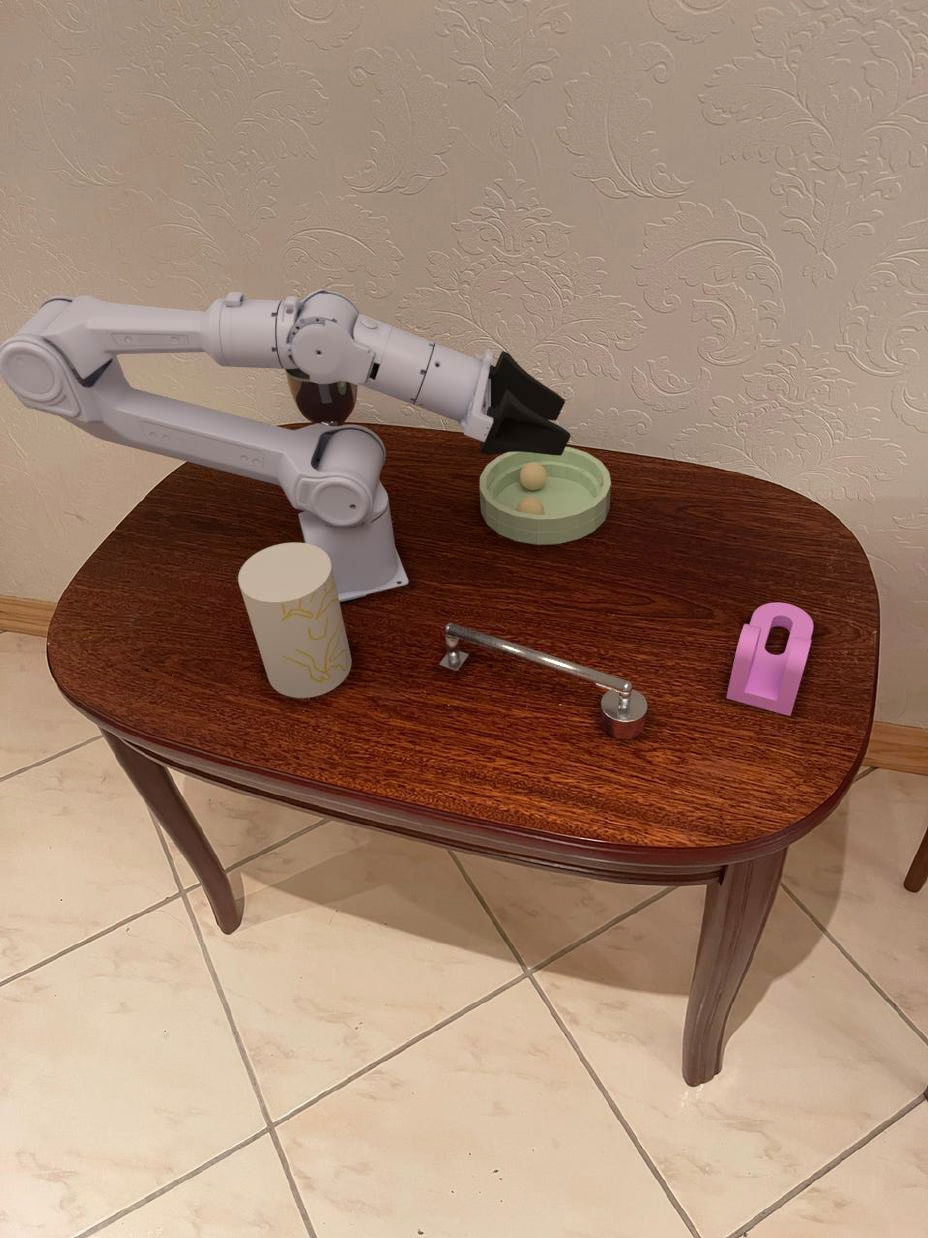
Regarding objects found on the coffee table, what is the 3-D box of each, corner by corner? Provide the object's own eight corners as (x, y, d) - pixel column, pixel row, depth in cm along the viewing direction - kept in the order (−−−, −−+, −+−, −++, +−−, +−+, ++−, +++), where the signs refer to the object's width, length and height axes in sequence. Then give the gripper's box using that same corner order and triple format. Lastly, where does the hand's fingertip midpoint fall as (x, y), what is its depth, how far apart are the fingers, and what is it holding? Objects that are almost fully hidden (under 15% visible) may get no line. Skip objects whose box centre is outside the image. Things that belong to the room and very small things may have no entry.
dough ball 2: (521, 535, 98) (520, 511, 96) (512, 518, 100) (511, 495, 98) (548, 528, 98) (548, 505, 96) (538, 512, 101) (538, 489, 99)
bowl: (504, 560, 96) (503, 531, 93) (466, 488, 106) (464, 459, 103) (629, 530, 98) (632, 501, 95) (580, 463, 109) (581, 434, 106)
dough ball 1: (525, 498, 103) (524, 474, 101) (516, 483, 105) (515, 460, 103) (551, 492, 104) (551, 468, 101) (541, 477, 106) (541, 454, 104)
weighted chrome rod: (652, 713, 79) (656, 674, 75) (635, 745, 76) (640, 706, 73) (455, 646, 86) (451, 608, 83) (434, 673, 84) (430, 635, 80)
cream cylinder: (310, 710, 81) (283, 614, 73) (250, 675, 85) (218, 580, 77) (368, 658, 86) (350, 562, 78) (309, 626, 90) (285, 531, 82)
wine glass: (303, 464, 112) (279, 354, 102) (364, 451, 114) (346, 340, 103) (314, 498, 106) (290, 384, 96) (379, 484, 108) (361, 370, 98)
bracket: (790, 716, 77) (806, 660, 73) (726, 698, 79) (737, 642, 75) (814, 621, 86) (830, 565, 81) (756, 607, 88) (768, 552, 83)
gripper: (434, 362, 71) (588, 421, 73) (443, 306, 83) (575, 359, 85) (406, 438, 75) (553, 491, 77) (418, 374, 87) (545, 422, 89)
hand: (563, 426), depth 82 cm, fingers open, 7 cm apart
